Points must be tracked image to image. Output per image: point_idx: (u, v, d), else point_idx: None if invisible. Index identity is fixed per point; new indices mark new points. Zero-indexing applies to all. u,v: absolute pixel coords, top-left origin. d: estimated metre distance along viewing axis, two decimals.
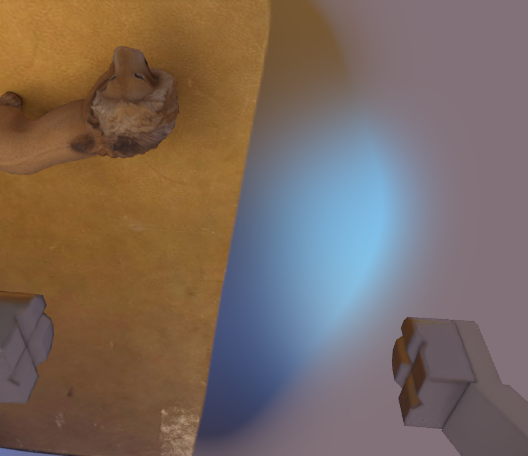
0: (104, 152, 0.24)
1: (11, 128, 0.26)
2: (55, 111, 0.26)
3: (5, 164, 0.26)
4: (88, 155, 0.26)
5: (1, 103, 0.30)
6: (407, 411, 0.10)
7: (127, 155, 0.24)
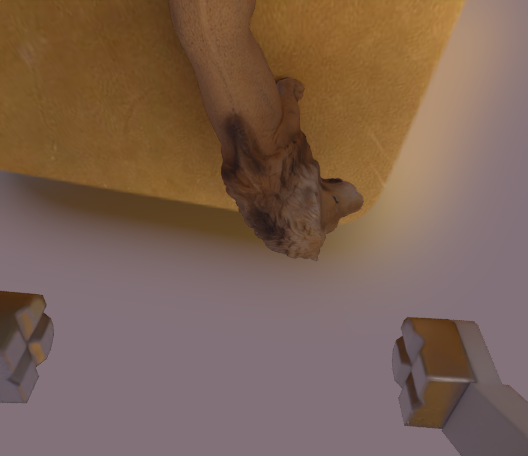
0: (244, 182, 0.19)
1: (250, 18, 0.17)
2: (271, 77, 0.19)
3: (202, 17, 0.16)
4: (216, 124, 0.19)
5: None
6: (407, 411, 0.10)
7: (239, 203, 0.20)
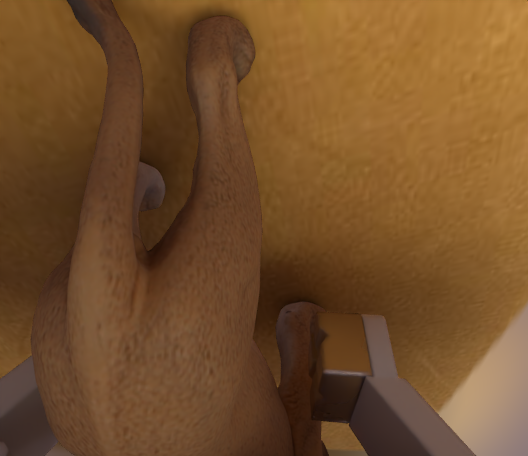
0: None
1: None
2: (277, 429, 0.09)
3: (102, 443, 0.06)
4: None
5: None
6: (313, 406, 0.10)
7: None
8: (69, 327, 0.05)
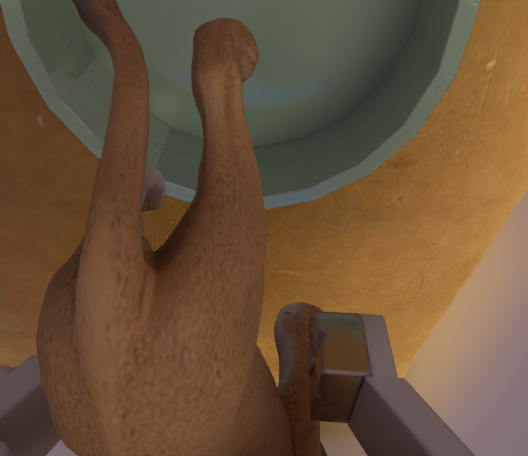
0: None
1: None
2: (278, 430, 0.09)
3: (108, 444, 0.06)
4: None
5: None
6: (312, 406, 0.10)
7: None
8: (77, 328, 0.05)
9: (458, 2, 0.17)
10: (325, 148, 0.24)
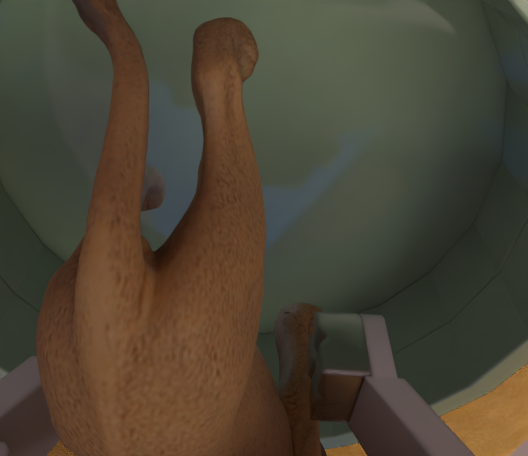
0: None
1: None
2: (278, 430, 0.09)
3: (108, 444, 0.06)
4: None
5: None
6: (312, 405, 0.10)
7: None
8: (75, 328, 0.05)
9: None
10: None
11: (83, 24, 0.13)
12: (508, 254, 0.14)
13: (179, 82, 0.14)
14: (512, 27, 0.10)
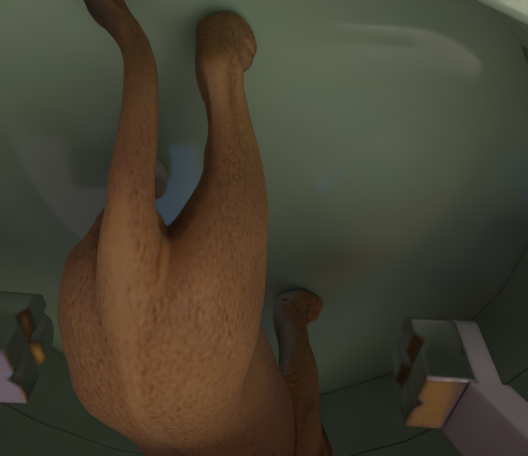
0: None
1: None
2: (281, 402, 0.09)
3: (129, 400, 0.06)
4: None
5: None
6: (407, 411, 0.10)
7: None
8: (99, 292, 0.06)
9: None
10: (360, 442, 0.16)
11: (31, 74, 0.10)
12: None
13: None
14: None
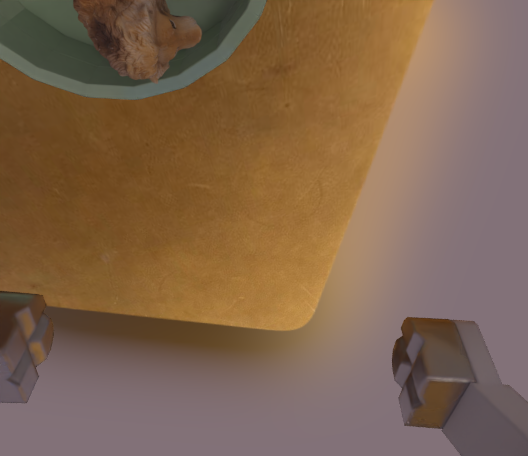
0: None
1: None
2: None
3: None
4: None
5: None
6: (407, 411, 0.10)
7: (83, 20, 0.21)
8: None
9: None
10: (198, 45, 0.27)
11: None
12: None
13: None
14: None
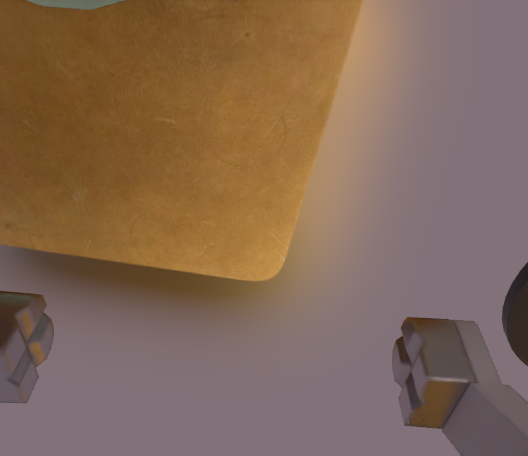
0: None
1: None
2: None
3: None
4: None
5: None
6: (407, 411, 0.10)
7: None
8: None
9: None
10: None
11: None
12: None
13: None
14: None
